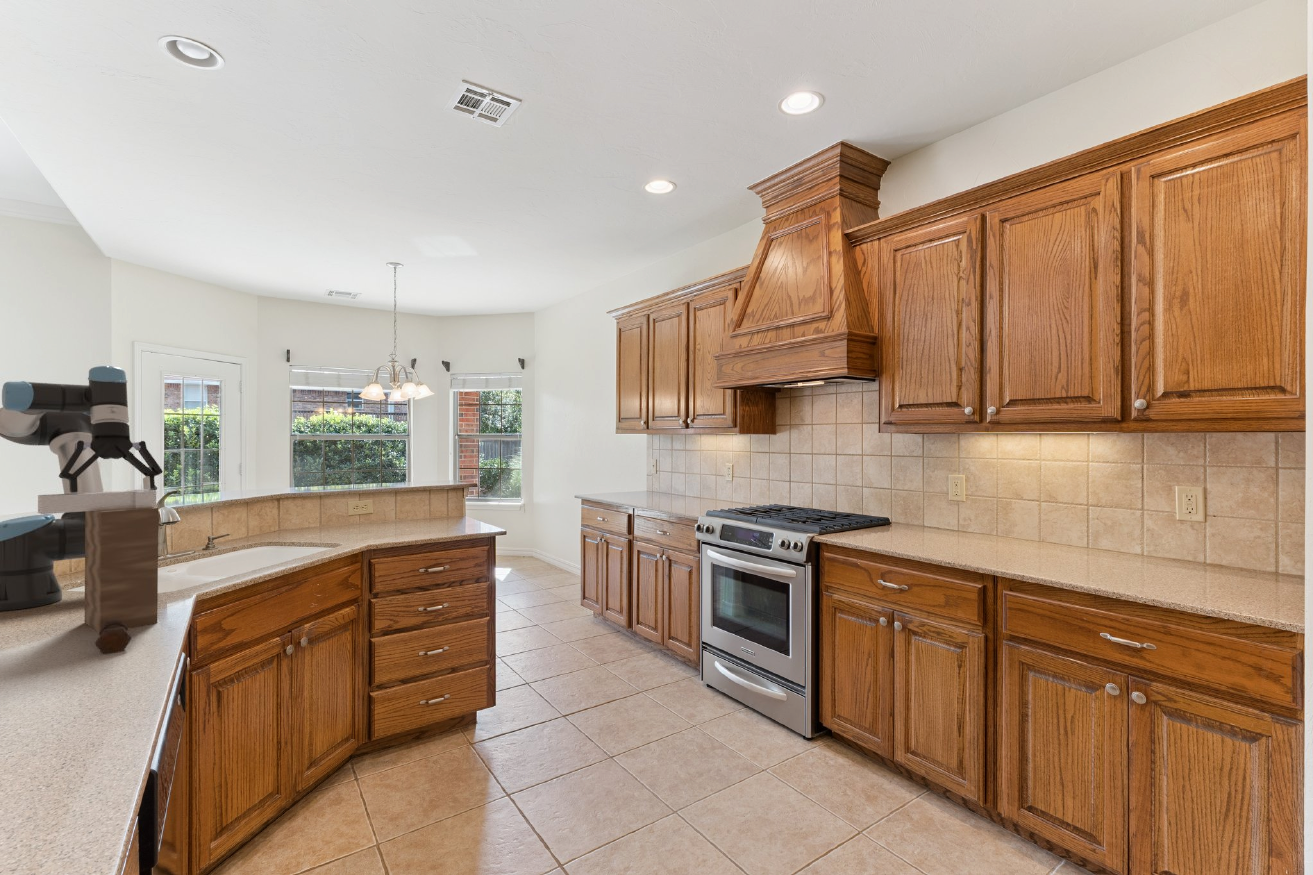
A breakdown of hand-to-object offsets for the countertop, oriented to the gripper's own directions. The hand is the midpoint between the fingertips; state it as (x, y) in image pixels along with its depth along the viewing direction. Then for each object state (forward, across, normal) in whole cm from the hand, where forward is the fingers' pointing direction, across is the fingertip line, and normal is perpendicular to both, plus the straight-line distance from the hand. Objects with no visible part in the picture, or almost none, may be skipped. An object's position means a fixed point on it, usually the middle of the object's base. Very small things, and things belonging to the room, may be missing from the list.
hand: (114, 503), depth 158 cm
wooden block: (+31, -2, -7) cm, 31 cm away
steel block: (+4, -6, -14) cm, 15 cm away
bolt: (+36, -7, -24) cm, 43 cm away
